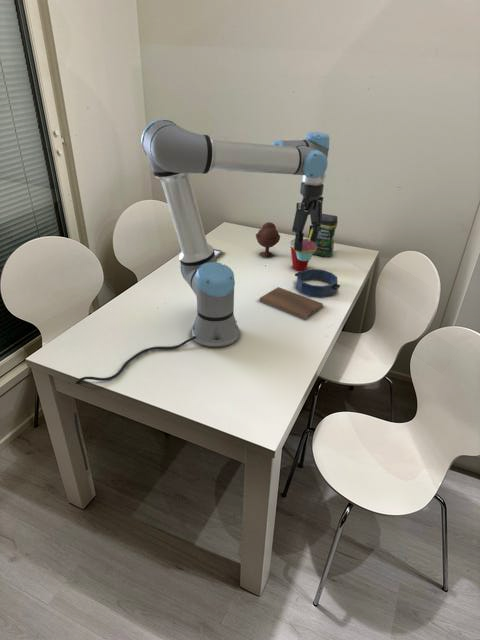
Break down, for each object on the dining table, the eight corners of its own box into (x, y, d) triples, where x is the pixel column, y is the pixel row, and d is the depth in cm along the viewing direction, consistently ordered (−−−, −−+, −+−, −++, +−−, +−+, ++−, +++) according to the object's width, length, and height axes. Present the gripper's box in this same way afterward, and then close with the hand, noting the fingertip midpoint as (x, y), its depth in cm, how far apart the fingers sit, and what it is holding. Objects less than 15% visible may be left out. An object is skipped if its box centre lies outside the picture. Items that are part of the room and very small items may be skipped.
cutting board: (305, 319, 160) (305, 316, 159) (259, 301, 171) (259, 297, 170) (322, 307, 168) (323, 303, 167) (278, 290, 179) (278, 286, 178)
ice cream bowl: (250, 252, 210) (252, 221, 202) (271, 249, 214) (274, 218, 206) (261, 261, 202) (263, 229, 194) (283, 257, 206) (285, 225, 198)
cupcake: (314, 254, 169) (318, 223, 162) (316, 264, 161) (320, 231, 155) (291, 253, 169) (294, 221, 163) (291, 262, 162) (295, 230, 156)
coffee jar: (309, 254, 210) (314, 215, 200) (314, 249, 216) (319, 210, 206) (330, 258, 207) (336, 219, 197) (334, 252, 213) (340, 213, 203)
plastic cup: (285, 272, 193) (287, 245, 187) (288, 262, 202) (291, 236, 196) (310, 275, 191) (313, 248, 185) (313, 265, 200) (316, 239, 194)
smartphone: (192, 259, 199) (208, 247, 211) (192, 261, 200) (208, 249, 211) (207, 262, 196) (222, 250, 208) (207, 264, 197) (222, 252, 209)
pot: (326, 302, 171) (328, 291, 169) (285, 287, 181) (286, 277, 179) (346, 288, 182) (348, 278, 179) (306, 274, 191) (307, 264, 189)
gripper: (305, 190, 142) (297, 258, 154) (337, 179, 157) (328, 241, 168) (285, 186, 146) (279, 252, 157) (318, 175, 160) (311, 236, 172)
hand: (304, 246), depth 163 cm, fingers closed on cupcake, 8 cm apart
